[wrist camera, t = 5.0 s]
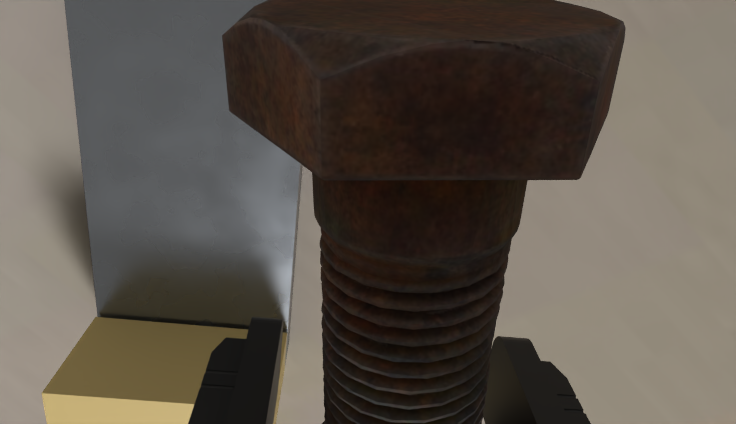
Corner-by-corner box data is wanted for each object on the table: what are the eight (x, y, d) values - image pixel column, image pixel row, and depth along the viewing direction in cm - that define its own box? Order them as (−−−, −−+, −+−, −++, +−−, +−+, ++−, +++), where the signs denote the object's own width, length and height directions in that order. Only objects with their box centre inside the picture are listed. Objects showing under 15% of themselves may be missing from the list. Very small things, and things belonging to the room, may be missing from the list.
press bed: (324, -126, 22) (312, -160, 16) (288, 343, 32) (271, 446, 26) (71, -163, 22) (-58, -217, 15) (115, 329, 32) (51, 431, 25)
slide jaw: (287, 332, 29) (273, 410, 24) (284, 369, 30) (271, 449, 25) (95, 316, 29) (41, 393, 24) (99, 354, 30) (48, 435, 25)
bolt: (357, 478, 18) (365, -18, 11) (511, 551, 16) (638, 0, 9) (244, 667, 13) (133, 17, 6) (440, 804, 11) (590, 68, 4)
